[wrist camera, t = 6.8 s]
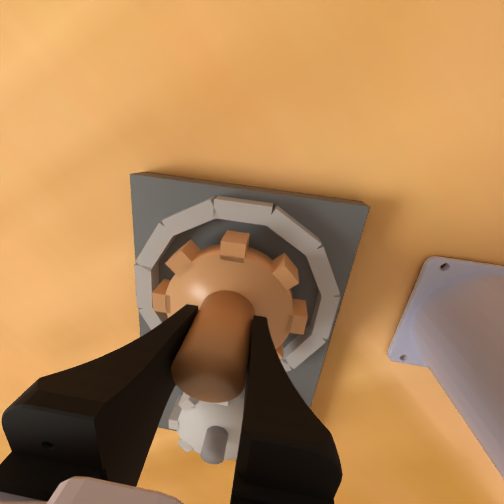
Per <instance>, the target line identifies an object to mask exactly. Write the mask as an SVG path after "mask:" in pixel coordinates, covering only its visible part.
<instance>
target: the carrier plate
mask: <svg viewBox="0 0 504 504" xmlns="http://www.w3.org/2000/svg"><path fill="white" fill-rule="evenodd" d="M130 184H131V199H132V214H133V230H134V245H135V260H136V261H135V262H136V264H135V265H134V267H135V282H136V296H137V307H138V308H139V310H138V311H139V322H140V337H141V336H143V335H144V334H146V333H148V332H149V331H151V330H152V329H154V328H155V327H157V326H158V325H159V324H161V323H162V322H164V321H165V320H166V319H168V316H167V313H164V312H158V311H153V299H152V292H153V291H154V290H155V289H156V288H157V286H158V285H159V284H160V283H161V282H162V281H163V279H168V280H171V279H172V278H173V276H174V275H175V273H174V272H173V271H172V270H171V269H170V268H169V267H168V266H167V265H166V264H165V263H166V262H167V261H168V260H169V258H170V257H171V256H172V255H173V254H174V253H175V252H176V251H177V250H178V249H180V248H181V247H182V246H183V245H185V244H186V243H187V242H188V241H190V240H192V241H193V242H194V243H195V244H196V245H197V246H198V247H199V248H200V250H201V249H203V248H205V247H208V246H211V245H216V244H221V240H222V238H223V236H224V235H225V233H226V231H227V230H229V231H236V232H244V233H250V236H249V246H248V247H251V248H254V249H256V250H258V251H261V252H262V253H264V254H266V255H267V256H269V257H270V258H271V259H272V260H274V259H275V258H277V257H278V256H280V255H281V254H283V253H284V252H285V254H286V255H287V256H288V257H289V259H290V260H291V261H292V262H293V264H294V265H295V266H296V267H297V269H298V277H299V284H297V285H295V286H294V287H292V288H291V290H292V298H293V299H300V300H306V307H307V314H308V319H307V323H306V327H305V331H304V335H302V334H295V333H289V335H288V337H287V338H286V339H285V341H284V342H283V359H281V360H280V361H281V363H282V365H283V367H284V369H285V371H286V373H287V375H288V376H289V378H290V380H291V382H292V383H293V385H294V387H295V388H296V390H297V391H298V393H299V394H300V395H301V397H302V398H303V400H304V401H305V403H306V404H307V405H308V407H309V408H310V406H311V402H312V399H313V396H314V392H315V389H316V386H317V382H318V379H319V376H320V372H321V369H322V366H323V362H324V359H325V356H326V352H327V349H328V346H329V342H330V339H331V335H332V332H333V329H334V325H335V322H336V319H337V315H338V312H339V309H340V305H341V302H342V299H343V295H344V292H345V289H346V285H347V282H348V279H349V275H350V272H351V269H352V265H353V262H354V258H355V255H356V252H357V248H358V245H359V242H360V238H361V235H362V232H363V228H364V225H365V222H366V218H367V215H368V212H369V208H370V207H369V206H368V205H366V204H364V203H363V202H361V201H353V200H346V199H339V198H331V197H324V196H317V195H309V194H302V193H295V192H287V191H280V190H273V189H265V188H258V187H251V186H243V185H236V184H229V183H221V182H214V181H207V180H199V179H192V178H185V177H177V176H170V175H163V174H155V173H148V172H140V173H133V174H130ZM244 395H245V386H244V389H243V391H242V392H241V394H240V395H239V396H237V397H236V398H234V399H232V400H230V401H227V402H222V403H209V402H204V401H200V400H197V399H195V398H192V397H191V396H189V395H187V394H186V393H184V392H183V391H182V390H181V389H180V388H179V387H178V386H177V385H175V387H174V389H173V391H172V393H171V395H170V398H169V400H168V402H167V404H166V407H165V409H164V412H163V415H162V417H161V420H160V422H159V425H158V427H159V428H164V429H169V430H174V431H178V434H179V436H180V437H181V438H180V440H179V443H178V445H179V446H180V447H181V448H182V449H184V450H185V451H186V452H189V451H191V450H194V451H196V452H198V453H199V454H200V456H201V458H202V459H203V460H204V461H205V462H207V463H210V464H220V465H221V463H222V462H223V460H233V459H237V453H238V447H239V440H240V433H241V426H242V419H243V410H244Z"/></svg>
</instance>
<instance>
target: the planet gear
mask: <svg viewBox="0 0 504 504" xmlns="http://www.w3.org/2000/svg"><path fill="white" fill-rule="evenodd" d="M249 236H250V233H244V232H236V231H229V230H227V231H226V233H225V235H224V236H223V238H222V240H221V244H216V245H211V246H208V247H205V248H203V249H201V250H200V248H199V247H198V246H197V245H196V244H195V243H194V242H193V241H192V240H190V241H188V242H187V243H186V244H185V245H183V246H182V247H181V248H180V249H178V250H177V251H176V252H175V253H174V254H173V255H172V256H171V257H170V258H169V260H168V261H167V262H166V263H165V264H166V265H167V266H168V267H169V268H170V269H171V270H172V271H173V272H174V273H175V275H174V276H173V278H172V279H171V280H168V279H163V281H162V282H161V283H160V284H159V285H158V286H157V288H156V289H155V290H154V291H153V292H152V299H153V311H158V312H164V313H167V316H168V318H169V317H170V316H172V315H173V314H174V313H176V312H177V311H178V310H179V309H181V308H182V307H183V306H185V305H186V304H190V305H196V306H198V312H197V314H196V316H195V318H194V320H193V323H192V325H191V327H190V329H189V331H188V333H187V335H186V337H185V339H184V341H183V343H182V345H181V347H180V349H179V351H178V353H177V355H176V357H175V359H174V361H173V363H172V366H171V375H172V378H173V380H174V382H175V383H176V385H177V386H178V387H179V388H180V389H181V390H182V391H183V392H184V393H186V394H187V395H189V396H191V397H192V398H195V399H197V400H200V401H204V402H209V403H222V402H227V401H230V400H232V399H234V398H236V397H237V396H239V395H240V394H241V392H242V391H243V389H244V386H245V380H246V374H247V367H248V361H249V353H250V340H251V330H252V323H253V318H254V315H256V316H262V317H266V318H267V319H268V326H269V331H270V334H271V338H272V341H273V343H274V346H275V349H276V351H277V354H278V356H279V358H280V360H281V359H283V342H284V341H285V339H286V338H287V337H288V335H289V333H295V334H302V335H304V331H305V327H306V323H307V319H308V314H307V307H306V300H300V299H293V298H292V290H291V288H292V287H294V286H295V285H297V284H299V277H298V269H297V267H296V266H295V265H294V264H293V262H292V261H291V260H290V259H289V257H288V256H287V255H286V254H285V252H284V253H283V254H281V255H280V256H278V257H277V258H275V259H274V260H272V259H271V258H270V257H269V256H267V255H266V254H264V253H262V252H261V251H258V250H256V249H254V248H251V247H248V246H249Z"/></svg>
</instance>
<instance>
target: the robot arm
mask: <svg viewBox="0 0 504 504" xmlns="http://www.w3.org/2000/svg"><path fill="white" fill-rule="evenodd" d="M444 263H446V265H445V267H443V268H440V266H441V265H442V264H444ZM197 312H198V306H196V305H190V304H186V305H185V306H183V307H182V308H181V309H179V310H178V311H177V312H176V313H174V314H173V315H172V316H170V317H169V318H168V319H166V320H165V321H164V322H162V323H161V324H159V325H158V326H157V327H155V328H154V329H152V330H151V331H149V332H148V333H146V334H144V335H143V336H141V337H140V338H138V339H136V340H135V341H133V342H131V343H129V344H127V345H125V346H123V347H121V348H119V349H117V350H115V351H113V352H111V353H108V354H106V355H104V356H102V357H100V358H97V359H95V360H92V361H90V362H87V363H84V364H82V365H79V366H76V367H73V368H70V369H67V370H64V371H61V372H57V373H54V374H51V375H48V376H44V377H41V378H39V379H38V380H37V381H36V382H35V383H34V384H33V385H31V386H30V387H29V388H28V389H27V390H26V391H25V392H24V393H23V394H22V395H21V396H20V397H19V398H18V399H17V400H16V401H14V402H13V403H12V404H11V405H10V406H9V407H8V408H7V409H6V410H5V411H4V413H3V416H2V426H3V430H4V432H5V435H6V437H7V440H8V442H9V445H10V447H11V450H12V452H11V453H10V454H9V455H8V456H7V458H6V459H5V460H4V461H3V462H2V463H1V464H0V504H183V503H182V502H181V501H179V500H178V499H177V498H175V497H173V496H170V495H167V494H164V493H162V492H158V491H153V490H148V489H143V488H139V487H136V486H137V483H138V480H139V477H140V474H141V471H142V469H143V466H144V463H145V460H146V457H147V455H148V452H149V449H150V446H151V444H152V441H153V438H154V435H155V433H156V430H157V427H158V425H159V422H160V420H161V417H162V415H163V412H164V409H165V407H166V404H167V402H168V400H169V398H170V395H171V393H172V391H173V389H174V387H175V385H176V383H175V382H174V380H173V378H172V375H171V366H172V363H173V361H174V359H175V357H176V355H177V353H178V351H179V349H180V347H181V345H182V343H183V341H184V339H185V337H186V335H187V333H188V331H189V329H190V327H191V325H192V323H193V320H194V318H195V316H196V314H197ZM387 355H388V357H389V359H390V360H391V361H394V362H400V363H406V364H411V365H417V366H423V367H428V368H429V369H430V370H431V372H432V373H433V375H434V376H435V378H436V379H437V381H438V382H439V384H440V385H441V387H442V388H443V390H444V391H445V393H446V394H447V396H448V397H449V399H450V400H451V402H452V403H453V405H454V406H455V408H456V409H457V411H458V412H459V414H460V415H461V416H462V418H463V419H464V421H465V422H466V424H467V425H468V427H469V428H470V430H471V431H472V433H473V434H474V436H475V437H476V439H477V440H478V442H479V443H480V445H481V446H482V448H483V449H484V451H485V452H486V454H487V455H488V457H489V458H490V459H491V461H492V462H493V464H494V465H495V467H496V468H497V470H498V471H499V473H500V474H501V476H502V477H503V479H504V266H502V265H495V264H488V263H481V262H474V261H467V260H461V259H454V258H447V257H440V256H432V257H429V258H428V259H426V261H425V262H424V265H423V267H422V269H421V272H420V274H419V277H418V279H417V281H416V284H415V286H414V289H413V291H412V293H411V296H410V298H409V301H408V303H407V305H406V308H405V310H404V313H403V315H402V317H401V320H400V322H399V324H398V327H397V329H396V332H395V334H394V336H393V339H392V341H391V344H390V346H389V348H388V351H387ZM402 355H404V356H402ZM341 480H342V469H341V463H340V459H339V456H338V452H337V449H336V446H335V443H334V440H333V437H332V435H331V433H330V431H329V430H328V429H327V428H326V427H325V426H324V425H323V424H322V422H321V421H320V420H319V419H318V418H317V417H316V416H315V414H314V413H313V412H312V411H311V409H310V408H309V407H308V405H307V404H306V403H305V401H304V400H303V398H302V397H301V395H300V394H299V393H298V391H297V390H296V388H295V387H294V385H293V383H292V382H291V380H290V378H289V376H288V375H287V373H286V371H285V369H284V367H283V365H282V363H281V361H280V358H279V356H278V354H277V351H276V349H275V346H274V343H273V341H272V338H271V334H270V331H269V326H268V319H267V318H266V317H262V316H256V315H254V318H253V323H252V330H251V340H250V353H249V361H248V367H247V374H246V380H245V395H244V410H243V419H242V426H241V433H240V440H239V447H238V453H237V460H236V467H235V474H234V480H233V487H232V494H231V501H230V504H334V497H335V494H336V492H337V490H338V487H339V485H340V483H341Z"/></svg>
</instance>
